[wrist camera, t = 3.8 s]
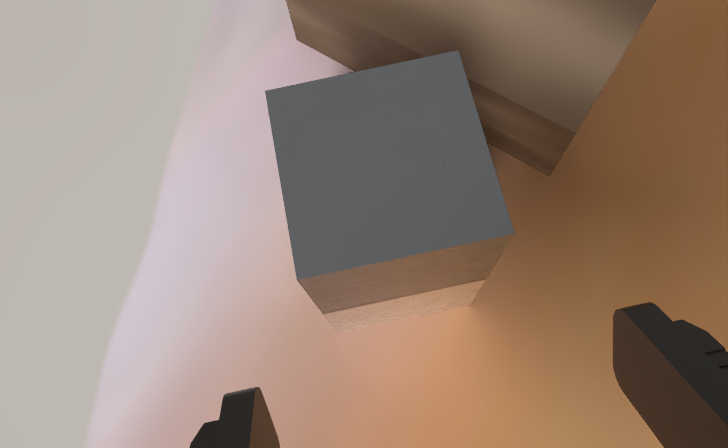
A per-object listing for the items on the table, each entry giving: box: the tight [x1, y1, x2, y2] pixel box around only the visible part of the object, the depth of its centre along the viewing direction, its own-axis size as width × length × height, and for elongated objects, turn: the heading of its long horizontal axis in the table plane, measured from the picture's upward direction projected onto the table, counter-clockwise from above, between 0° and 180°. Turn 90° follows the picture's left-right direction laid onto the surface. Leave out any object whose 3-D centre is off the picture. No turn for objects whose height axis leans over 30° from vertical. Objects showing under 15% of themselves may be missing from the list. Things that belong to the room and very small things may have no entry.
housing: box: [265, 50, 515, 334], centre depth 20 cm, size 6×6×10 cm
